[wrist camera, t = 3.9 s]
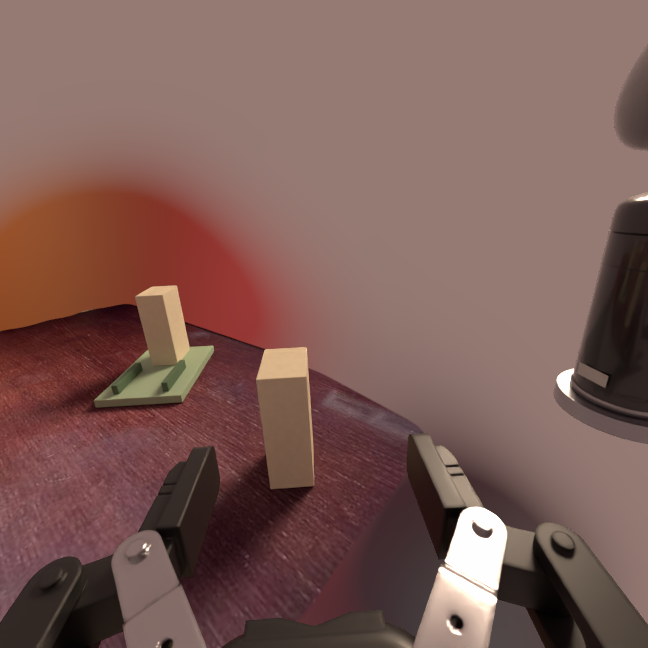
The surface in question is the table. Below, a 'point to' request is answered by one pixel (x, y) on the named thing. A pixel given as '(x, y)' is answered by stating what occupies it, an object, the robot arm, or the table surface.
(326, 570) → the table surface
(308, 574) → the table surface
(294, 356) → the tall beige wooden block
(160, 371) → the dock
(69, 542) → the table surface
